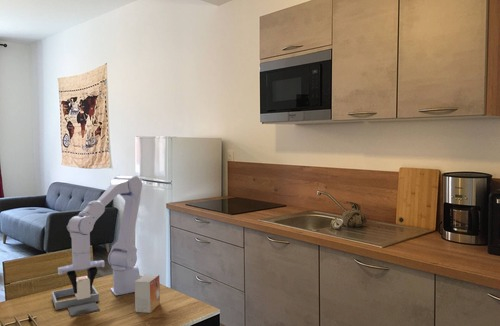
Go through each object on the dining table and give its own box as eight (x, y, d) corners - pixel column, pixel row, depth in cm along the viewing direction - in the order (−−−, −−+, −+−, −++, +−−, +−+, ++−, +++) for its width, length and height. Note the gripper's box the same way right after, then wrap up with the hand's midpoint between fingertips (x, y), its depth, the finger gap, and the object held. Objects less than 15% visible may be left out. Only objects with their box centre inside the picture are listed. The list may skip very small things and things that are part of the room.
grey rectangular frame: (92, 290, 155) (92, 284, 155) (98, 300, 145) (98, 293, 144) (52, 298, 147) (51, 291, 147) (55, 309, 137) (55, 302, 137)
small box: (150, 313, 133) (149, 282, 133) (135, 312, 134) (134, 281, 134) (160, 303, 141) (159, 274, 141) (145, 302, 142) (145, 273, 142)
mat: (94, 302, 143) (94, 301, 143) (99, 310, 136) (99, 309, 136) (67, 308, 138) (67, 307, 138) (70, 316, 131) (70, 315, 131)
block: (87, 292, 140) (86, 275, 140) (90, 297, 136) (89, 279, 136) (74, 295, 138) (74, 277, 138) (77, 299, 134) (77, 281, 134)
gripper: (100, 245, 143) (101, 283, 144) (55, 252, 135) (57, 292, 136) (105, 250, 138) (106, 289, 138) (59, 257, 129) (60, 298, 130)
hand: (82, 291), depth 137 cm, fingers closed on block, 4 cm apart
